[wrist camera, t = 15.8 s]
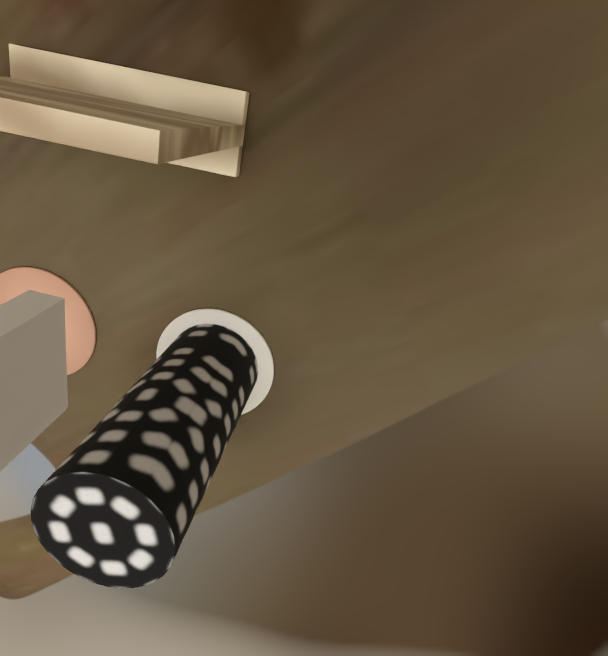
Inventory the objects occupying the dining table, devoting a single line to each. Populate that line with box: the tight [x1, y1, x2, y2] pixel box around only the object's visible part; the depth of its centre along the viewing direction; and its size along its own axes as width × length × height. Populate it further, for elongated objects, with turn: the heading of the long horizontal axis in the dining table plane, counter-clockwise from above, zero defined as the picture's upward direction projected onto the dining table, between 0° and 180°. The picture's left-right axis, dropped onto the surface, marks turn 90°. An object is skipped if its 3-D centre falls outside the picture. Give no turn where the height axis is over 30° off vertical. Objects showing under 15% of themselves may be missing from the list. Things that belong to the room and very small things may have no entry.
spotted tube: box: [31, 324, 258, 588], centre depth 36 cm, size 8×8×20 cm
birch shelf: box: [0, 44, 250, 177], centre depth 31 cm, size 6×18×16 cm, turn 79°
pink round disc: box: [0, 267, 97, 375], centre depth 47 cm, size 11×11×1 cm
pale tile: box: [156, 308, 274, 415], centre depth 46 cm, size 11×11×1 cm
